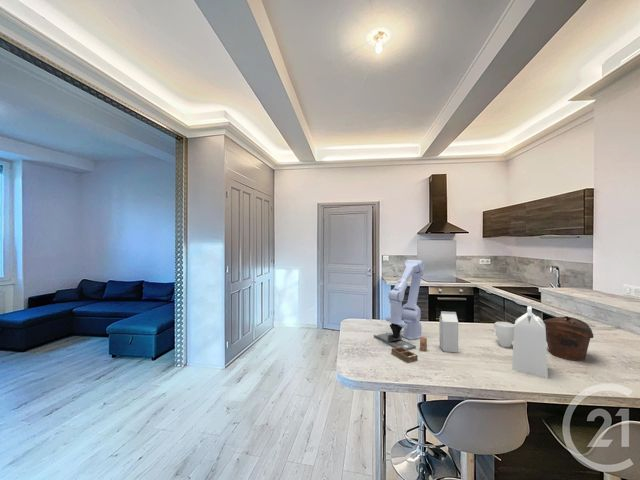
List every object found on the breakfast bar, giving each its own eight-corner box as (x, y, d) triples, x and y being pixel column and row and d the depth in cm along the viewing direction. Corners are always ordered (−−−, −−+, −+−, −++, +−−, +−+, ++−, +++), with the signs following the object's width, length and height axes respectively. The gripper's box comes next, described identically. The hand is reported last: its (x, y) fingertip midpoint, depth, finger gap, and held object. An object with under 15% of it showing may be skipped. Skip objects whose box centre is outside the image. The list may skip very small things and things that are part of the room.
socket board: (400, 351, 133) (400, 346, 133) (417, 360, 123) (417, 355, 123) (391, 353, 130) (391, 348, 130) (407, 363, 120) (407, 357, 120)
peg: (423, 348, 136) (423, 336, 136) (428, 350, 133) (428, 338, 133) (418, 349, 135) (418, 337, 135) (423, 351, 132) (423, 339, 132)
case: (575, 348, 136) (574, 312, 136) (605, 366, 116) (604, 325, 116) (534, 345, 140) (533, 311, 140) (556, 362, 121) (555, 322, 121)
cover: (390, 333, 154) (390, 328, 154) (401, 338, 146) (401, 333, 146) (376, 336, 150) (376, 330, 150) (388, 341, 141) (387, 336, 141)
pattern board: (387, 334, 157) (387, 332, 157) (415, 348, 136) (415, 345, 136) (373, 337, 152) (373, 335, 152) (401, 351, 132) (401, 349, 132)
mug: (519, 348, 135) (518, 326, 135) (503, 349, 135) (503, 326, 135) (501, 340, 147) (501, 319, 147) (487, 340, 147) (487, 319, 147)
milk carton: (458, 352, 131) (458, 314, 131) (442, 351, 132) (442, 313, 132) (454, 347, 138) (454, 310, 138) (439, 346, 139) (439, 309, 139)
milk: (514, 359, 123) (513, 303, 123) (547, 367, 116) (546, 307, 116) (512, 369, 114) (511, 308, 114) (547, 378, 107) (547, 313, 107)
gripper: (381, 310, 147) (381, 334, 147) (400, 317, 134) (400, 344, 134) (391, 308, 150) (391, 333, 150) (410, 315, 137) (410, 341, 137)
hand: (396, 338), depth 143 cm, fingers closed
